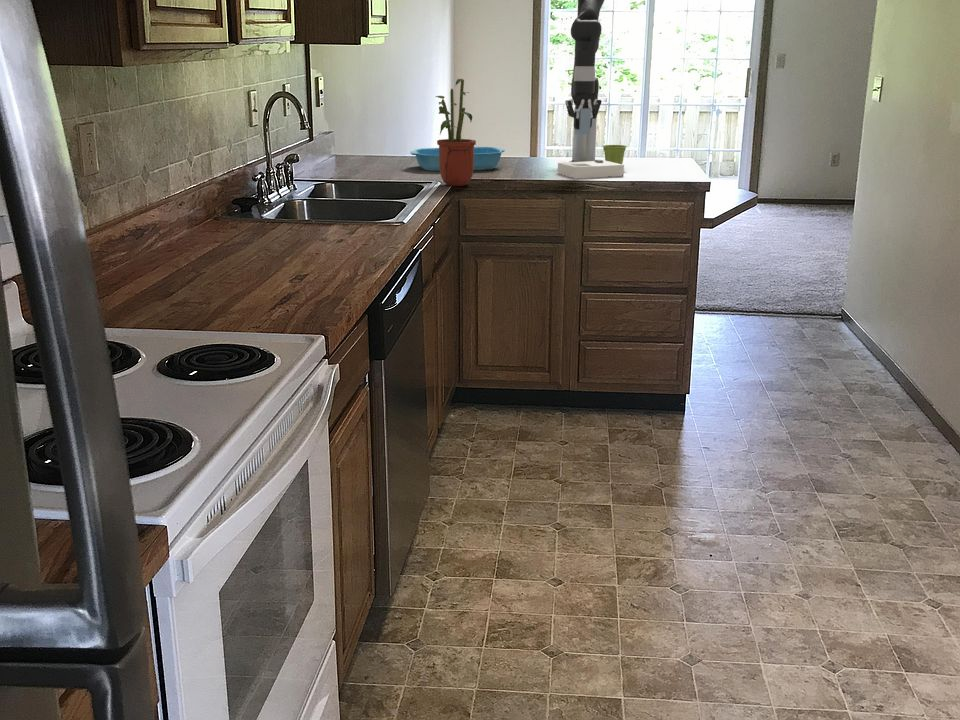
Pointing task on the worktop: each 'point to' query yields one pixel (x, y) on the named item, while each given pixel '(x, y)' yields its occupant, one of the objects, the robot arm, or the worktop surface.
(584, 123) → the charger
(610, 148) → the plant pot
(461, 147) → the potted plant
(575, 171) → the outlet plate
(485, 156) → the casserole dish
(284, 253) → the worktop surface
